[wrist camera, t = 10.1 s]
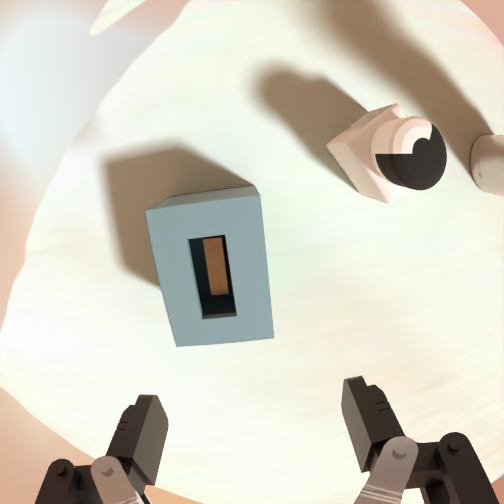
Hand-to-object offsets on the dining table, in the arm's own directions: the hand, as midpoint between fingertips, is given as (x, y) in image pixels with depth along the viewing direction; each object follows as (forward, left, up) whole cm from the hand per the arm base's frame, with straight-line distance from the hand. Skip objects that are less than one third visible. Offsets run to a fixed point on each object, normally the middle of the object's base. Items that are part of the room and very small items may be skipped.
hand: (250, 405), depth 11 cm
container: (-16, -10, -26) cm, 32 cm away
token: (+3, 0, -25) cm, 25 cm away
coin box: (+3, 0, -26) cm, 26 cm away
